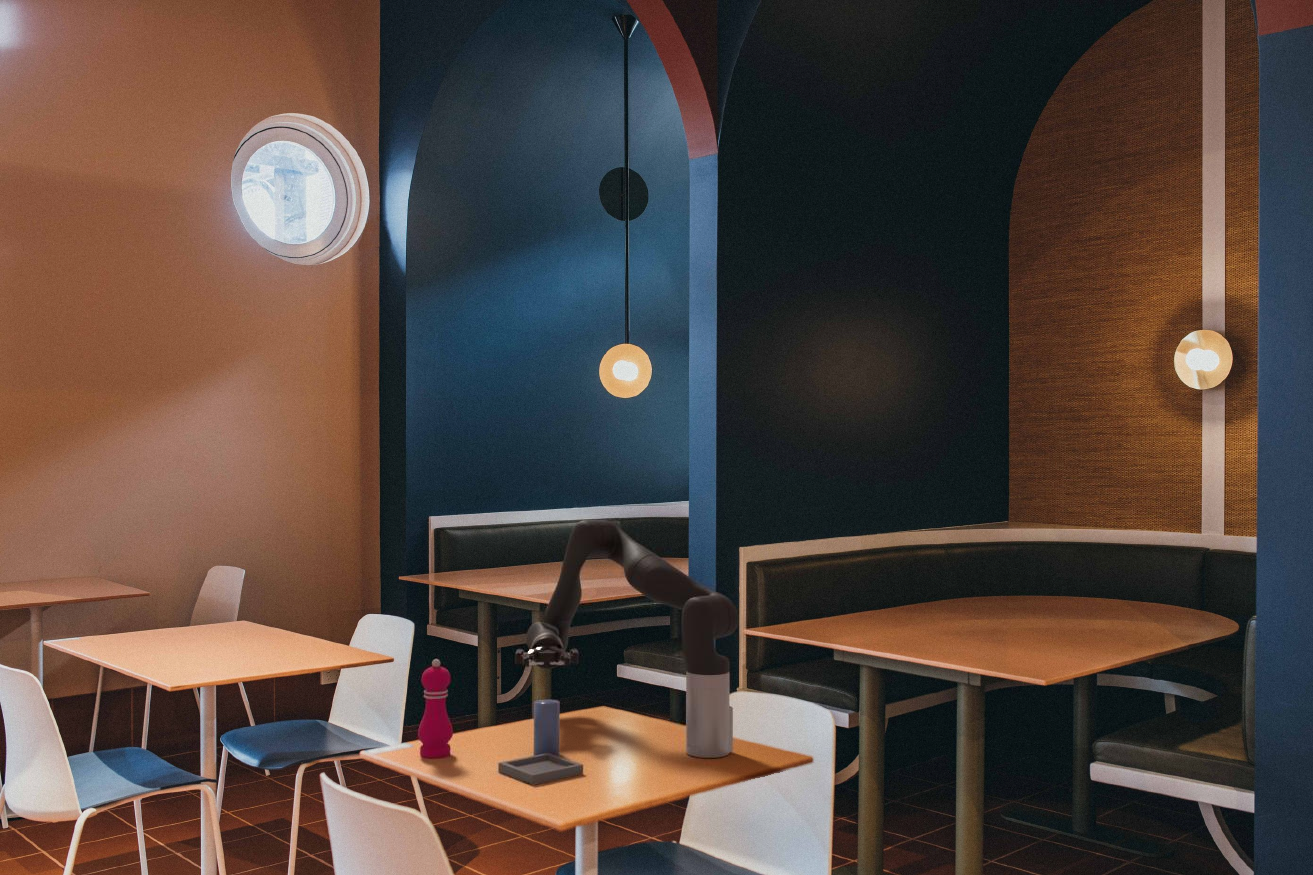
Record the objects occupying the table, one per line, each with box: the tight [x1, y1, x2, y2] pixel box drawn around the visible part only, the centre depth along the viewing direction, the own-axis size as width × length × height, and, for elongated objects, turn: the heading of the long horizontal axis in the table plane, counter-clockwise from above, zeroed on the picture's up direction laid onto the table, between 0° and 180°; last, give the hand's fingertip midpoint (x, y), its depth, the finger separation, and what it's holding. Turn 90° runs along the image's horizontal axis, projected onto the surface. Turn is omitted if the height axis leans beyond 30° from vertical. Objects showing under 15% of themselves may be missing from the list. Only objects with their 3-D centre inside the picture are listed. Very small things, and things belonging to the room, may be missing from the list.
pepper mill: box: [417, 658, 454, 759], centre depth 228 cm, size 7×7×20 cm
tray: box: [497, 753, 584, 786], centre depth 214 cm, size 12×12×2 cm
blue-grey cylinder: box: [533, 699, 561, 756], centre depth 228 cm, size 5×5×11 cm
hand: (546, 662), depth 240 cm, fingers open, 8 cm apart
